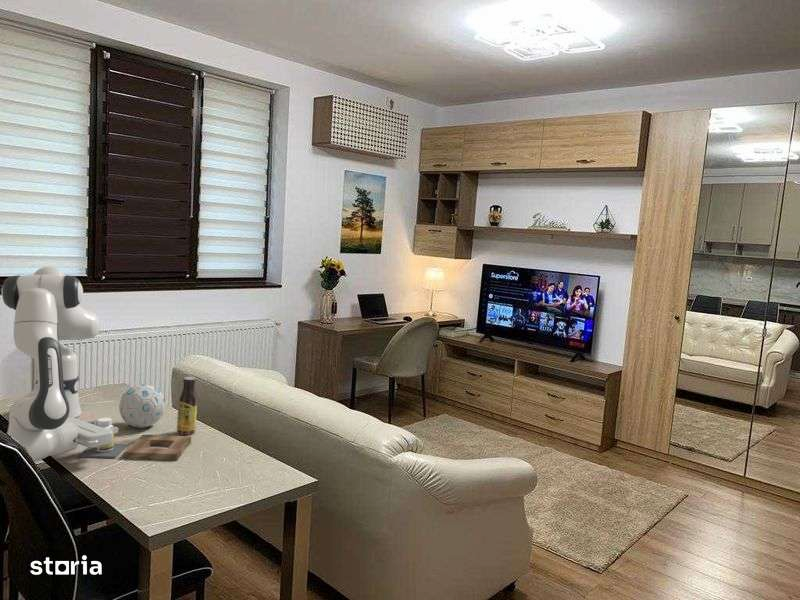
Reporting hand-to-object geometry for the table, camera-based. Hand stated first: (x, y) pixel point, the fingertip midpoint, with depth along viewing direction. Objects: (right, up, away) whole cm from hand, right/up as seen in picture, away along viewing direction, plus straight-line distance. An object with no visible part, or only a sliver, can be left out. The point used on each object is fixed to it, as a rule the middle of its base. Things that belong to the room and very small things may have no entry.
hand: (107, 425), depth 193 cm
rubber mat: (-1, -8, 0) cm, 8 cm away
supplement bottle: (-1, -8, 0) cm, 8 cm away
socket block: (+15, -9, +4) cm, 18 cm away
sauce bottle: (+18, -7, +21) cm, 29 cm away
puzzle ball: (0, -5, +25) cm, 26 cm away
